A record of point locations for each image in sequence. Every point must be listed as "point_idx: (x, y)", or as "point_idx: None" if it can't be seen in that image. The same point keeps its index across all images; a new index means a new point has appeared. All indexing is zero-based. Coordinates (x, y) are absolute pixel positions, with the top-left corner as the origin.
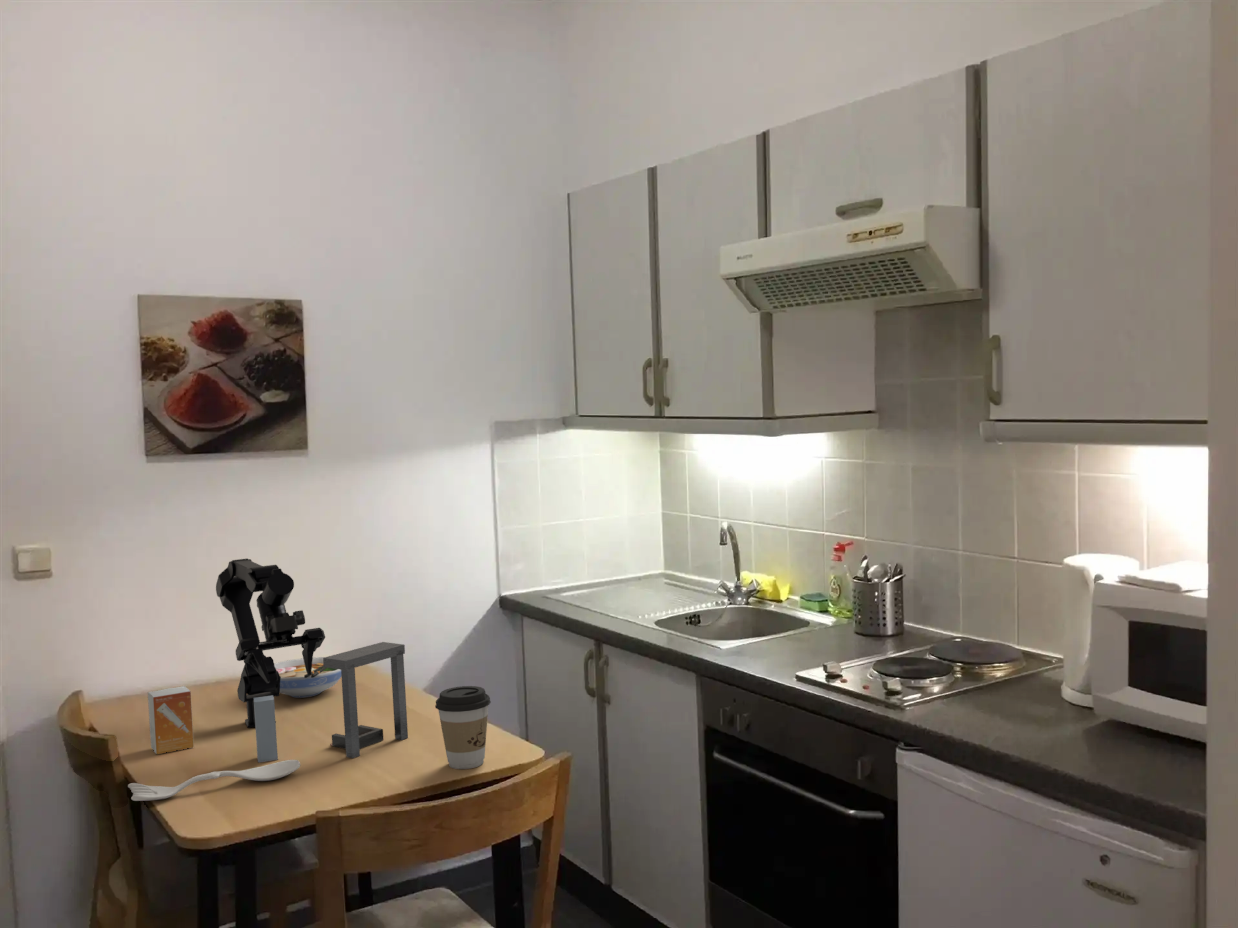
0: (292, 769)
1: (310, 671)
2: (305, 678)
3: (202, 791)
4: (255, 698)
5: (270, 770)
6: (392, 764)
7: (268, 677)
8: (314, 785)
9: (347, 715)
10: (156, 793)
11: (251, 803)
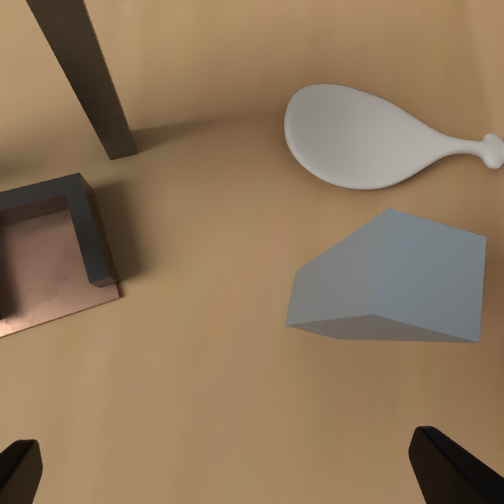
0: (313, 89)
1: (7, 454)
2: None
3: None
4: (470, 317)
5: (348, 158)
6: None
7: (442, 448)
8: (283, 27)
9: (97, 39)
10: None
11: (416, 28)
